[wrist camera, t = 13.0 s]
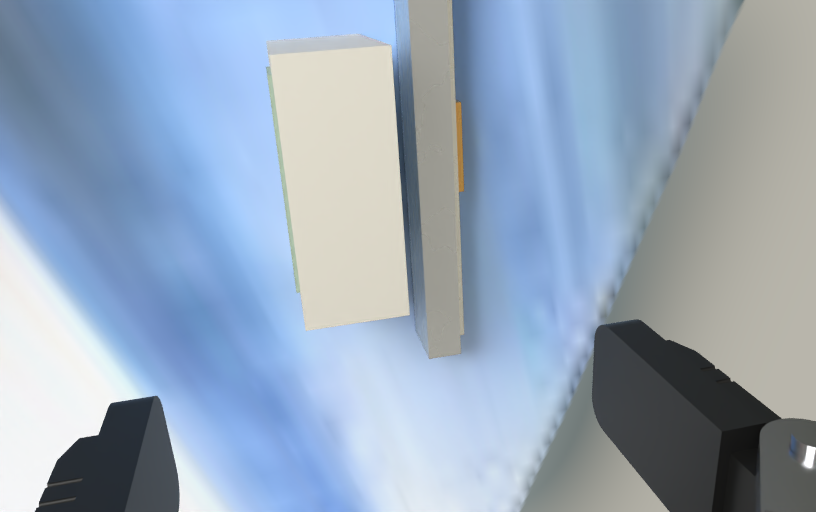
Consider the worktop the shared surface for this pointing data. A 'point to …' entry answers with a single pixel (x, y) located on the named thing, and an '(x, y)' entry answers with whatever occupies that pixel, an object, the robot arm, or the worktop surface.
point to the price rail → (432, 169)
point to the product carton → (340, 176)
